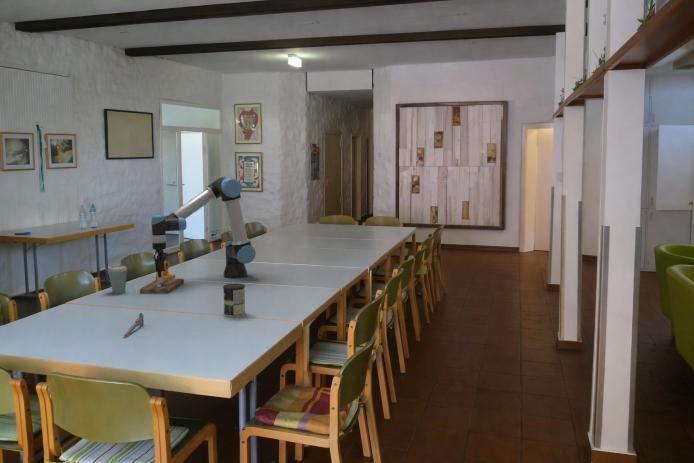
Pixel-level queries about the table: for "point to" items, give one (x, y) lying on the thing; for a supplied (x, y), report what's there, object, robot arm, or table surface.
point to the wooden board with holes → (162, 286)
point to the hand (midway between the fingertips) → (160, 282)
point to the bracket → (166, 272)
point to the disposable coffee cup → (117, 278)
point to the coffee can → (234, 300)
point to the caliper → (138, 322)
